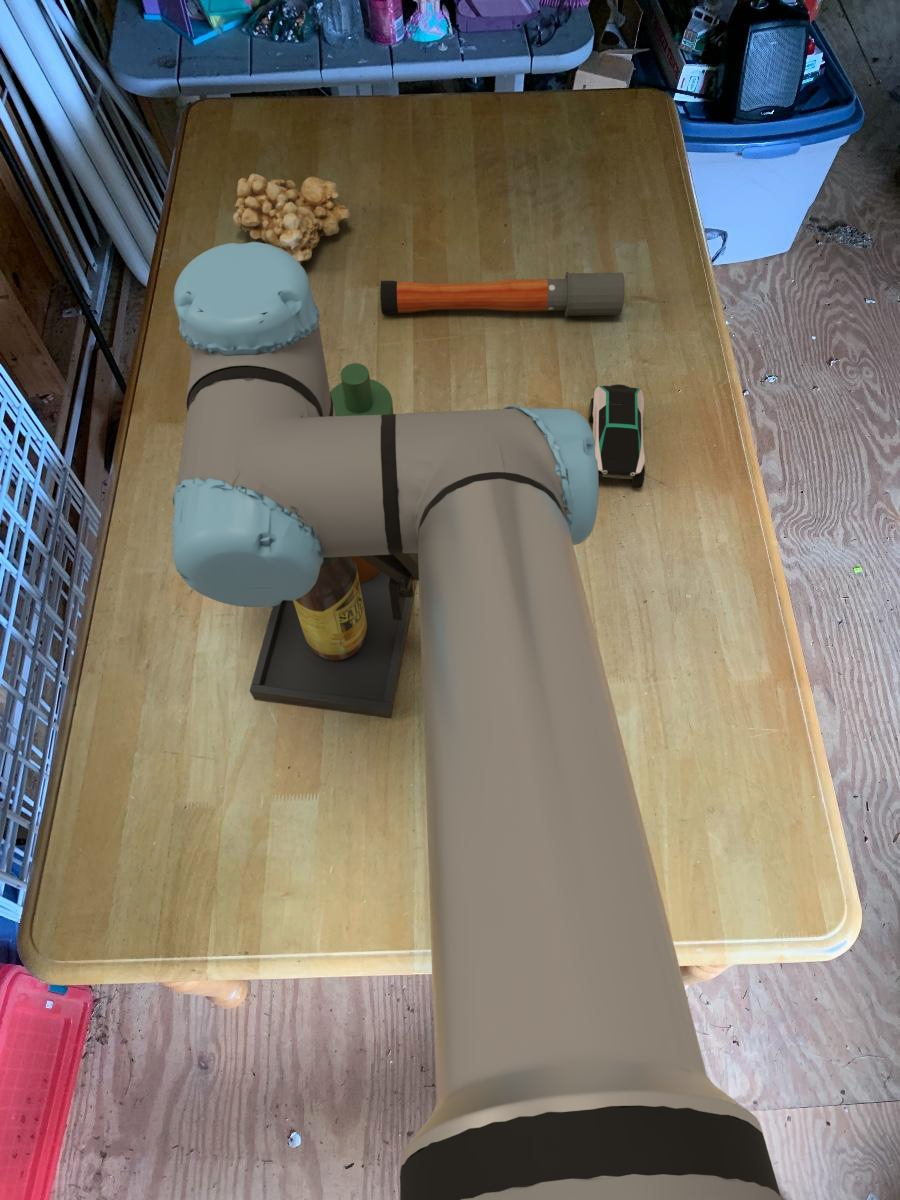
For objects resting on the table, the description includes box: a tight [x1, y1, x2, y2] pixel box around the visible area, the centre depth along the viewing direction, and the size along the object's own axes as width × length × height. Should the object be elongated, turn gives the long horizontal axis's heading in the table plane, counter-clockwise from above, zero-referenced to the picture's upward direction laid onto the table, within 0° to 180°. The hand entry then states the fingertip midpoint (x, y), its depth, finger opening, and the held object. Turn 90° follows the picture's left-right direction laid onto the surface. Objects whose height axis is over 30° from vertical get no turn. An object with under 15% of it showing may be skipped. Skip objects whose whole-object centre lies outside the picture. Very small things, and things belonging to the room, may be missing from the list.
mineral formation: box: [232, 173, 351, 265], centre depth 110 cm, size 8×13×15 cm
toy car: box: [588, 383, 646, 489], centre depth 93 cm, size 6×12×5 cm, turn 175°
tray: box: [249, 571, 418, 719], centre depth 87 cm, size 31×14×2 cm, turn 172°
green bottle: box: [330, 362, 394, 416], centre depth 84 cm, size 6×6×18 cm
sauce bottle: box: [293, 556, 367, 660], centre depth 75 cm, size 7×6×20 cm
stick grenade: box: [379, 271, 626, 318], centre depth 104 cm, size 5×5×30 cm
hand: (327, 597), depth 77 cm, fingers open, 13 cm apart
